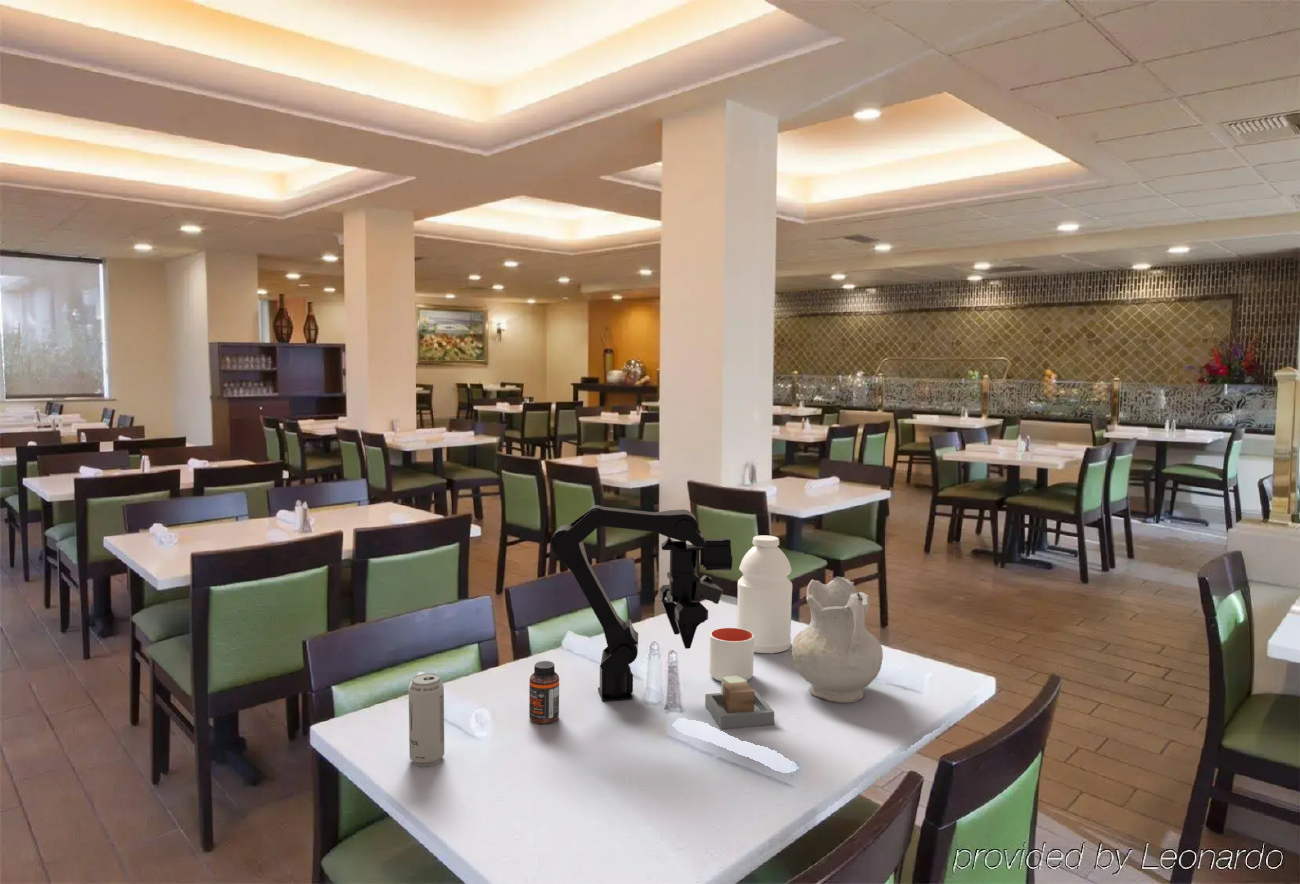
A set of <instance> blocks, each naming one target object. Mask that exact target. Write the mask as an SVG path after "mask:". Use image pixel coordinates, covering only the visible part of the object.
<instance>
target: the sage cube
mask: <svg viewBox="0 0 1300 884" xmlns="http://www.w3.org/2000/svg"><path fill="white" fill-rule="evenodd" d="M720 682H721V684H720V685H721V686H720V687H721V688H720V691H721V692H720V693H723V684H725V683H737V682H747V683H748V680H745V679H743V678H742V677H740V676H738V675H733V676H728V677H722V678H721V681H720Z"/></svg>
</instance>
